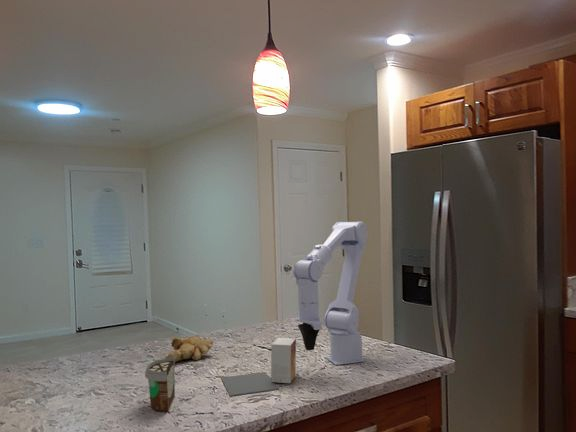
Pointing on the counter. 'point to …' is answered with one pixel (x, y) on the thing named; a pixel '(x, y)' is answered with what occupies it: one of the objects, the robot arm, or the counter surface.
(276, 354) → the small box
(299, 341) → the counter surface
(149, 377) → the food container
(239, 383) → the mat
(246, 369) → the counter surface
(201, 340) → the ginger root
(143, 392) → the counter surface
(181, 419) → the counter surface
